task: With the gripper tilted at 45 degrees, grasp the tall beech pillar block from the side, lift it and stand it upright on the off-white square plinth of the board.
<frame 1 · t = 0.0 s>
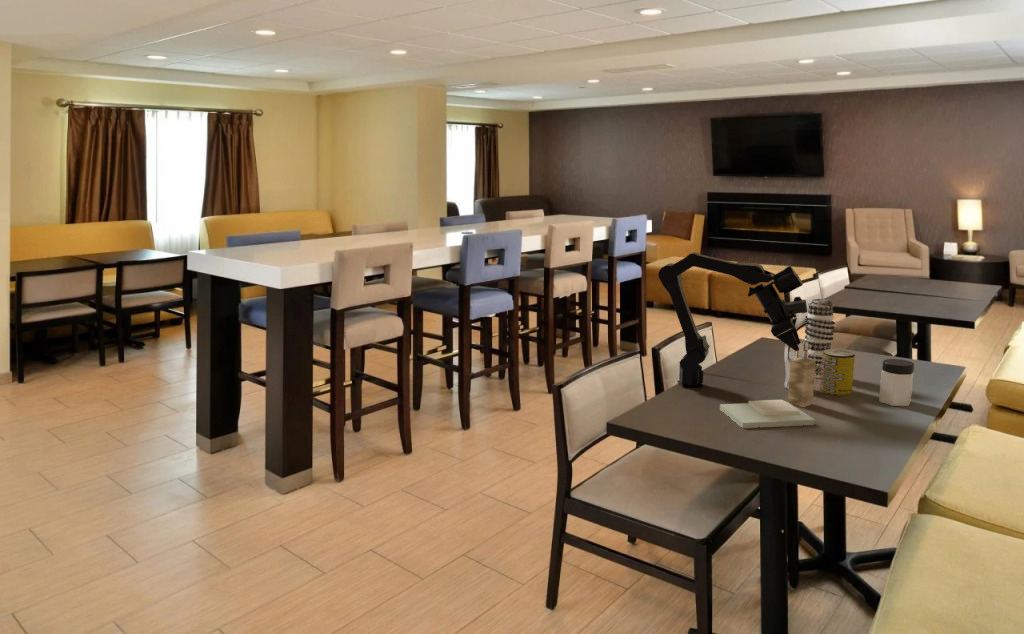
hand: (798, 347, 229), 15 cm above the table, tool tilted 35°, fingers open, 9 cm apart
decorative candle: (815, 375, 255), on the table
pillar block: (800, 403, 224), on the table
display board: (765, 416, 213), on the table
beverage can: (835, 391, 237), on the table
jar: (894, 402, 225), on the table
beer glass: (793, 388, 240), on the table
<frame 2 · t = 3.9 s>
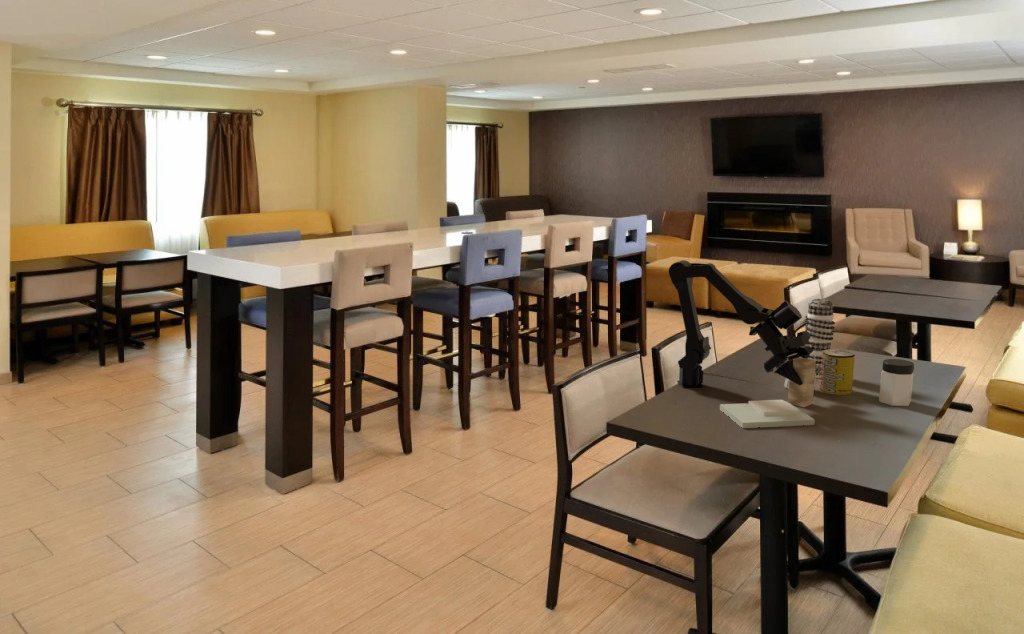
hand: (806, 382, 222), 7 cm above the table, tool tilted 45°, fingers closed on pillar block, 5 cm apart
pillar block: (800, 403, 224), on the table, touching gripper
everything else where it was.
when the fingers open (10 cm above the table, at t = 9.3 s): pillar block stays where it is, resting on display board.
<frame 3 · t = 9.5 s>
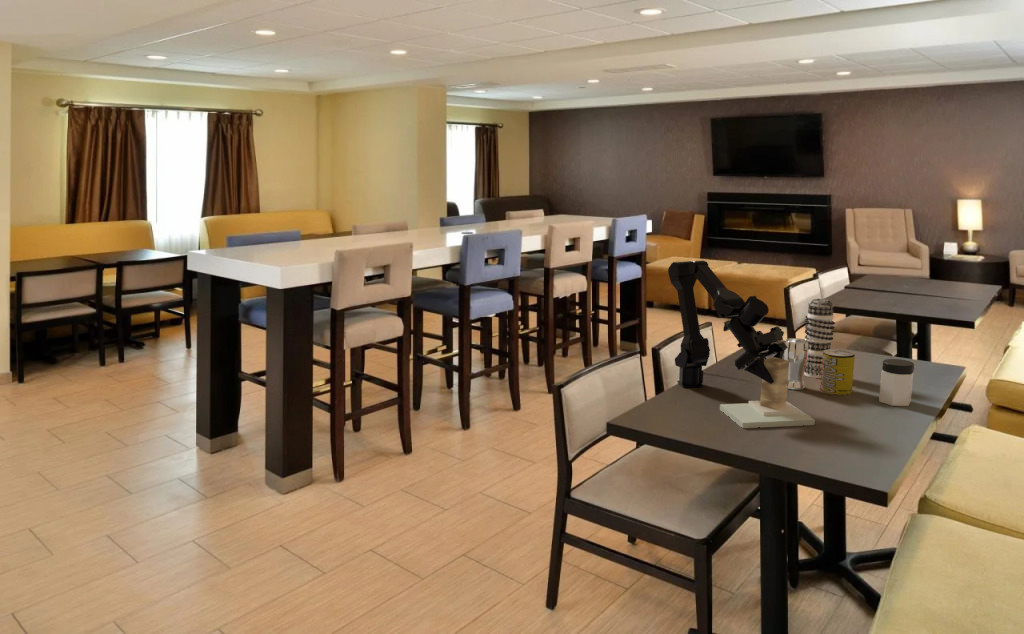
hand: (779, 380, 212), 10 cm above the table, tool tilted 45°, fingers open, 7 cm apart
pillar block: (773, 405, 215), point 3 cm above the table, touching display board
everything else where it was.
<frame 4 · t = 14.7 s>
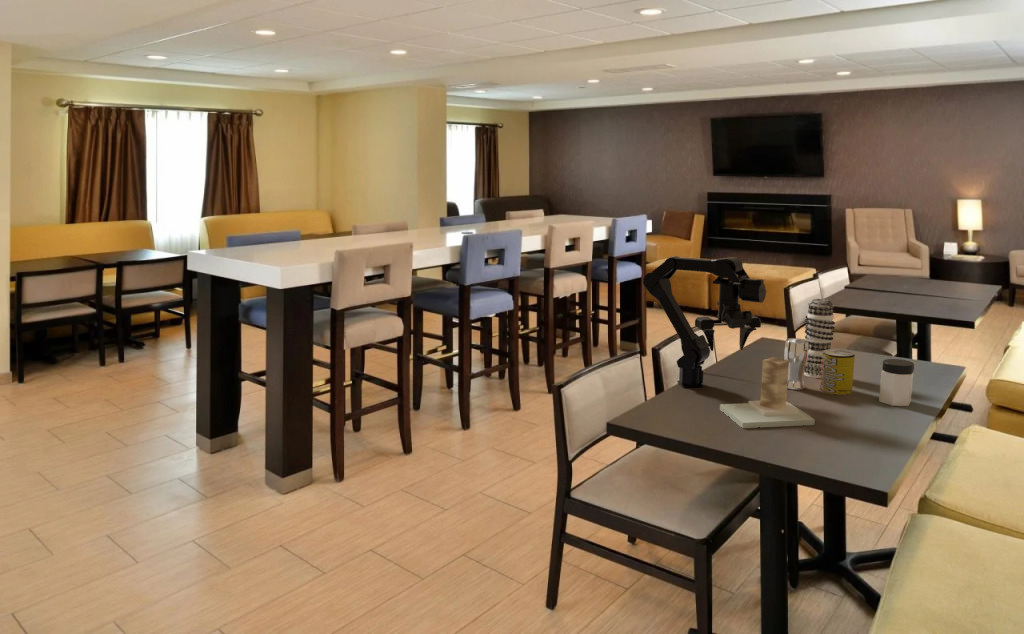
hand: (726, 350, 234), 13 cm above the table, tool pointing down, fingers open, 9 cm apart
nothing on the table moved.
at the end: pillar block inside the target area on the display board (0.1 cm from its centre), point 2.5 cm above the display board's base; pillar block tilted 0°; the gripper is holding nothing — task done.
